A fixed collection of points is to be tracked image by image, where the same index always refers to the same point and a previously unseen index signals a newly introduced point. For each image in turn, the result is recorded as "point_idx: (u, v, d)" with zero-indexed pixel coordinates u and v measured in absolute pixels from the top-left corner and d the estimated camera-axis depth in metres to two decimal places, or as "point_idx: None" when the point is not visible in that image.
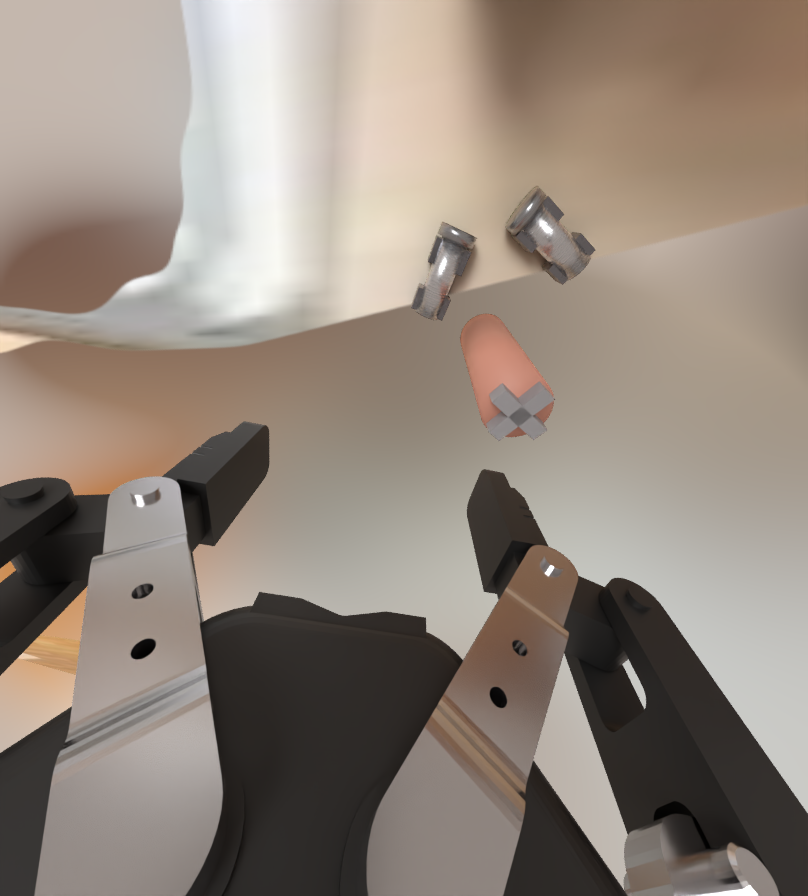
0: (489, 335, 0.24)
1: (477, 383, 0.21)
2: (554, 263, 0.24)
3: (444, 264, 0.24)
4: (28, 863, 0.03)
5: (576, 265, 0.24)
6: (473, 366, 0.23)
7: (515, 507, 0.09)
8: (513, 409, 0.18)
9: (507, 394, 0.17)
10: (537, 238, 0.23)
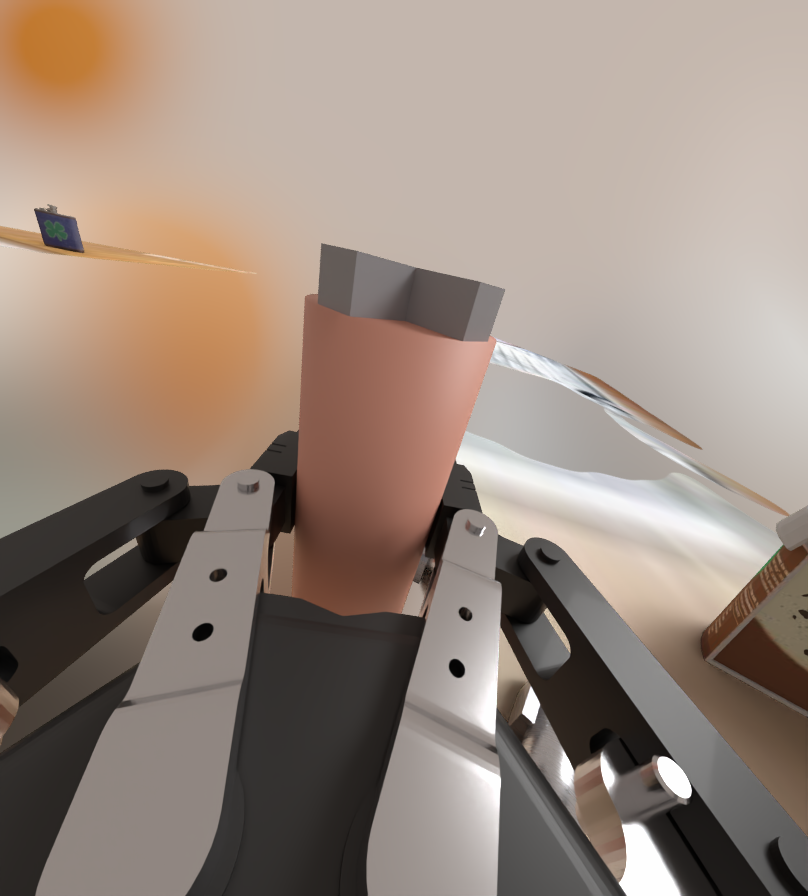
0: None
1: None
2: None
3: None
4: (28, 863, 0.03)
5: None
6: None
7: (455, 479, 0.10)
8: None
9: None
10: None
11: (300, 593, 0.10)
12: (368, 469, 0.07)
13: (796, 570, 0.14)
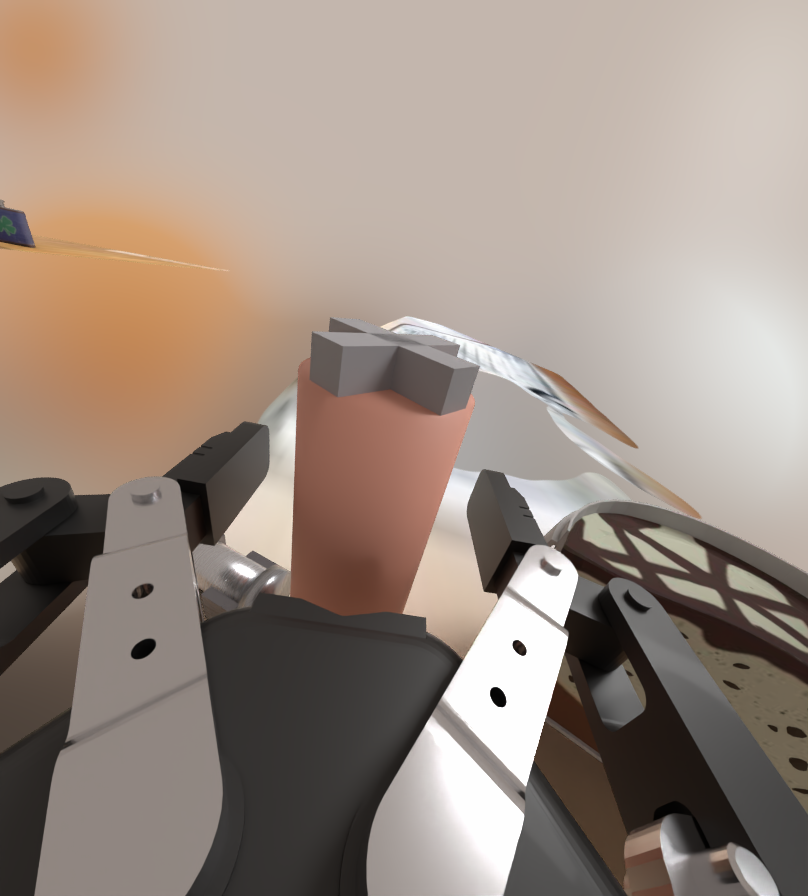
0: None
1: None
2: None
3: (236, 562, 0.15)
4: (28, 863, 0.03)
5: None
6: None
7: (515, 507, 0.09)
8: (417, 339, 0.08)
9: (452, 344, 0.08)
10: None
11: None
12: (357, 524, 0.07)
13: None
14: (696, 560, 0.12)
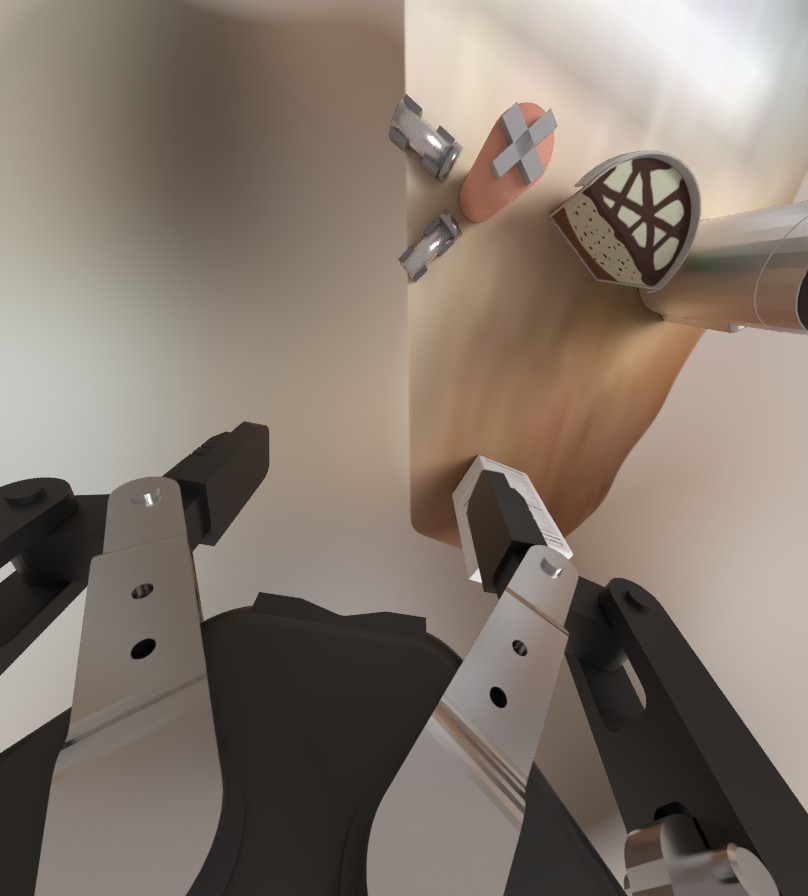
0: None
1: None
2: (413, 250, 0.33)
3: (435, 140, 0.29)
4: (28, 863, 0.03)
5: (410, 265, 0.34)
6: None
7: (515, 507, 0.09)
8: (534, 135, 0.19)
9: (552, 128, 0.19)
10: (433, 233, 0.32)
11: (469, 200, 0.28)
12: (496, 199, 0.24)
13: (577, 195, 0.27)
14: (658, 197, 0.25)
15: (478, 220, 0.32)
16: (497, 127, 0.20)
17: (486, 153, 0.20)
